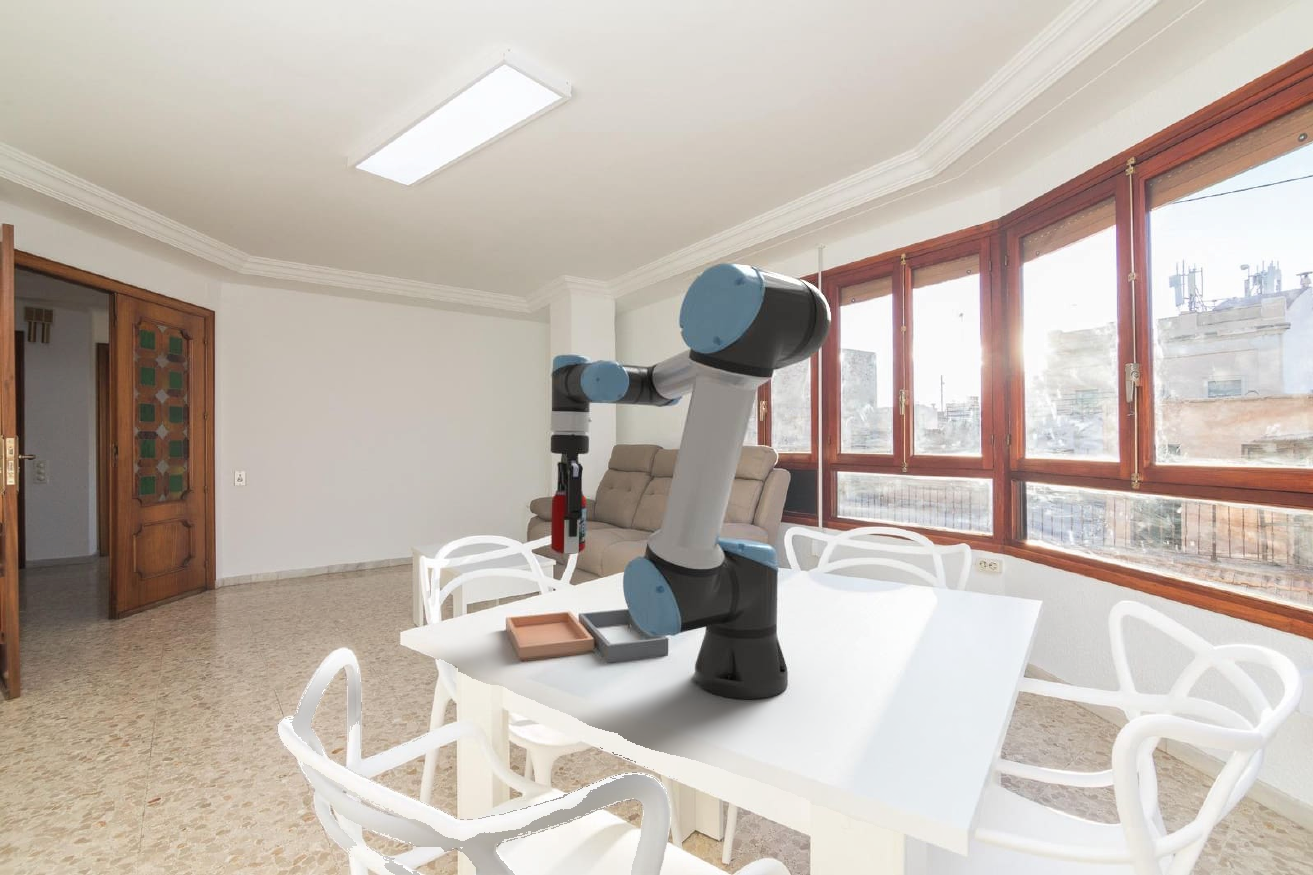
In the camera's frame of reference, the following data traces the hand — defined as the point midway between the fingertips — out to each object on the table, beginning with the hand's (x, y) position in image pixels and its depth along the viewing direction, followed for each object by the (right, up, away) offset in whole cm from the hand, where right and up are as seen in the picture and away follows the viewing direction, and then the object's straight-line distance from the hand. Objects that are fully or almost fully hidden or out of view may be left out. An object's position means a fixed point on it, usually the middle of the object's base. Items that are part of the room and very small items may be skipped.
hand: (567, 549), depth 120 cm
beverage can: (0, -1, 0) cm, 1 cm away
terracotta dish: (-4, -18, -1) cm, 18 cm away
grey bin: (+11, -18, -1) cm, 21 cm away
